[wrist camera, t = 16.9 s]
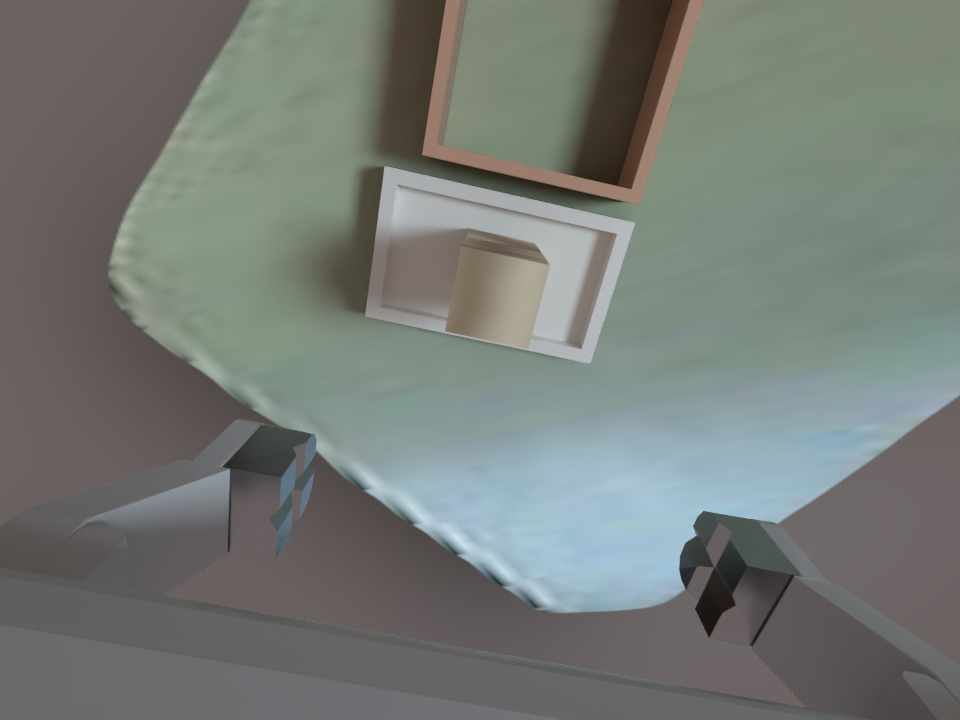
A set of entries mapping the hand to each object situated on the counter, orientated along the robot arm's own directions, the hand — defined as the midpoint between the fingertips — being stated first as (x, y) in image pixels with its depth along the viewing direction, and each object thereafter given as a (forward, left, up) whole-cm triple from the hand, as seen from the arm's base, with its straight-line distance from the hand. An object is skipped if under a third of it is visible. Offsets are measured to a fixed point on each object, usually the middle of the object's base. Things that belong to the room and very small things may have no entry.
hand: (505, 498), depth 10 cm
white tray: (0, 0, -29) cm, 29 cm away
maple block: (0, 0, -28) cm, 28 cm away
